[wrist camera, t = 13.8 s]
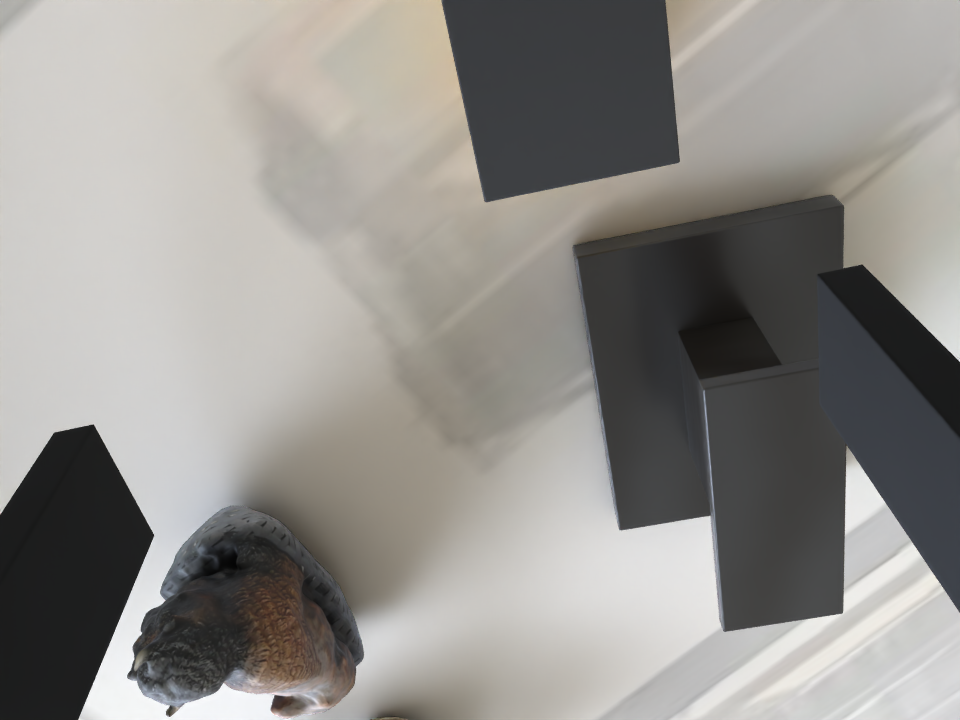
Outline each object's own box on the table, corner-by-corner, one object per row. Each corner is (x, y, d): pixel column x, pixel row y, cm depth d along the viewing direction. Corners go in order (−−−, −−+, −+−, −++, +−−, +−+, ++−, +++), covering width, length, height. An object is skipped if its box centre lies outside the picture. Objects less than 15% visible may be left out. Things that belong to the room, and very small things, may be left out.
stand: (615, 514, 41) (652, 670, 33) (572, 244, 34) (606, 364, 26) (830, 477, 40) (919, 630, 32) (832, 193, 33) (947, 302, 25)
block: (478, 122, 31) (484, 203, 24) (438, -75, 28) (431, -46, 21) (630, 90, 31) (680, 163, 24) (607, -114, 28) (656, -98, 21)
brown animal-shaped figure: (395, 627, 45) (380, 817, 36) (275, 667, 46) (234, 860, 37) (273, 457, 39) (221, 634, 30) (140, 509, 40) (54, 693, 32)
